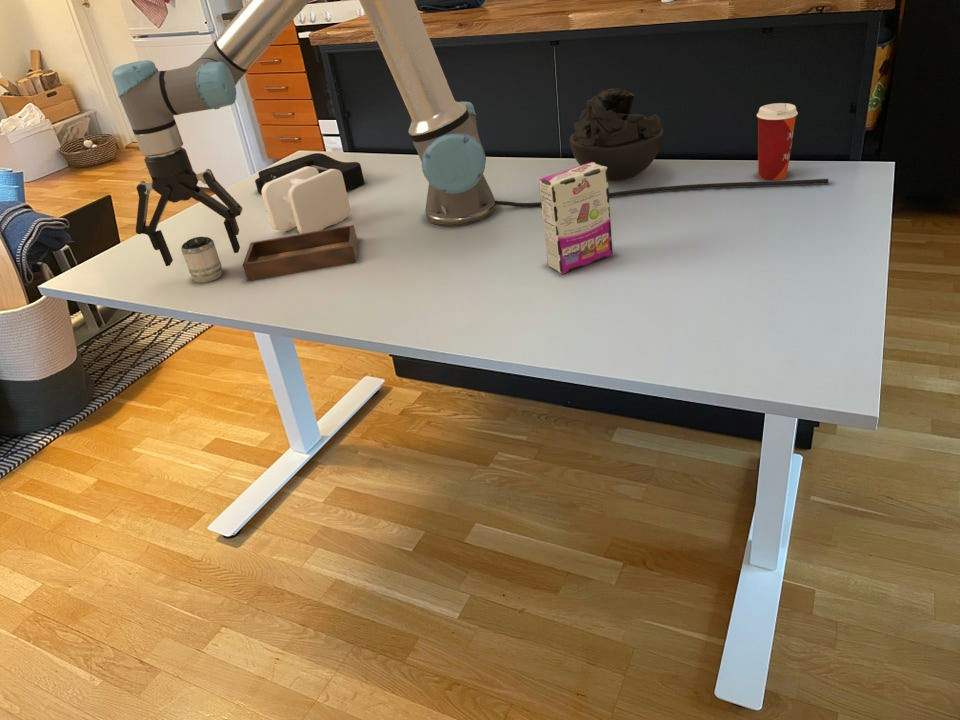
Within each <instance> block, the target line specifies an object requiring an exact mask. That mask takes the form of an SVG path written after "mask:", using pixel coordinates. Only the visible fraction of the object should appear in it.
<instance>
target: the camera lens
mask: <svg viewBox="0 0 960 720" xmlns="http://www.w3.org/2000/svg"><path fill="white" fill-rule="evenodd" d="M180 251H181V253H182V255H183V258H184V261H185V263H186V267H187V269H188V272H189V274H190V277H191V278H192V279H193V281H194V282H195V283H197V284H198V283H199V284H204V283H209V282H213V281H215V280H218V279H219V278H221V276H222V275H223V266H222V261H221V260H220V257H219V256H220V255H219V253H218V250H217V248H216V244H215V242H214V239H212V238H210V237H208V236H196V237H193V238H190V239H188V240H186V241H185V242H184V243H183V244H182V245H181V249H180Z"/></svg>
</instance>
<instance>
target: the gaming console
mask: <svg viewBox="0 0 960 720" xmlns="http://www.w3.org/2000/svg"><path fill="white" fill-rule="evenodd" d="M303 167H314V168H316V169H317V170H318V172H319V174H320V173H322V172H324V171H327V170H329V169H336V170H339V171H341V173H342V175H343V179H344V183H345V188H346V192H348V191H350V190H352V189H355V188H357V187H359V186H362V185H364V184H365V178H364V173H363V169H362V165H361V163H360V162H359V161H358V162H357V161H349V162H347V161H341V160H338V159H335V158H332V157H331V156H328V155H327V154H324V153H320V152H315V153H310V154H307V155H304V156H301V157H297V158H295V159H291V160H289V161H286V162H283V163H280V164H277V165H274V166H270V167H268V168H264V169H262V170H259V171H258V177H257V178H256V179H255V180H254V183H255V186H256V190H257V193H258V194H259V195H260V194H261V195H262V188H263V186H264V185H265V184H266V183H268V182H270V181H272V180H275V179H277V178H280V177H282V176H284V175H287V174H289V173H291V172H294V171H296V170H299V169H301V168H303Z"/></svg>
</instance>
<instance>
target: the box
mask: <svg viewBox="0 0 960 720" xmlns="http://www.w3.org/2000/svg"><path fill="white" fill-rule="evenodd" d="M357 259H358V236H357V232H356V228H355V224H351V225H344V226H338V227H332V228H327V229H323V230H320V231H315V232H309V233H303V234H301V233H298V234H292V235H286V236H281V237H274V238H268V239H264V240H257V241H252V242H250V243H249V246H248V249H247V251H246V254H245V256H244V259H243V262H242V269H243V272H244V274H245V277H246V280H247V282H251V281H257V280H262V279H263V280H264V279H268V278H274V277H281V276H285V275H290V274H291V275H292V274H296V273H303V272H308V271H314V270H320V269H326V268H332V267H336V266H343V265H348V264H354V263H357Z"/></svg>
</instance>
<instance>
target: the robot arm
mask: <svg viewBox="0 0 960 720" xmlns="http://www.w3.org/2000/svg"><path fill="white" fill-rule="evenodd" d="M310 2H311V0H248V1H247V2H246V4H245V5H244V6H243V7H242V8H241V9H240V10H239V12H237V14H236V15H235V16H234V17H233V19H231V21H230V22H229V23H228V24H227V26H226V27H225V28H224V29H223V30H222V32H220V34H219V35H218V36H217V37H216V39H215V40H214V41H213V42H212V43H210V45H209V46H208V48H207V49H206V50H205V51H204V52H203V53H202V54H201V55H200V56H199V58H198V59H197V60H195V61H193V62H192V63H190V64H189V65H188V66H184V67H179V68H174V69H169V70H168V69H167V70H159V69H158V68H157V66H156V64H155V62H153V61H152V60H150V59H149V60H148V59H146V60H137V61H133V62H128V63H124V64H121V65H119V66H116V67H115V68H114V69H113V70H112V73H111V76H112V79H113V83H114V86H115V89H116V92H117V97H118V98H119V100H120V103H121V106H122V107H123V110H124V112H125V115H126V117H127V120H128V122H129V125H130V127H131V129H132V132H133V135H134V138H135V140H136V143H137V145H138V148H139V151H140V153H141V155H142V156H144V159H143V161H144V163H145V165H146V168H147V171H148V173H149V176H150V179H151V182H146V181H144V180H141V181H140V182H139V183H138V184H137V186H136V191H137V195H138V205H137V215H136V224H135V233H136V234H137V235H142V234H143V235H147V236H148V238H149V239H150V243H151V245H152V248H153V249H154V250H155V251H159V253H160V255H161V257H162V261H163V262H164V264H165V267H169V266H171V265H172V263H173V261H174V259H173V257H172V254H171V251H170V249H169V247H168V244H167V242H166V239H165V237H164V234H163V232H162V230H161V229H159V230H157V228H158V226H159V223H160V221H161V218H162V216H163V214H164V212H165V209H166V207H167V204H168V202H171V203H172V204H174V203H178V202H180V201H184V202H185V201H189V200H190V199H193V200H195V201H196V202H199V203H201V204H203V206H205V207H207V208H208V209H210V210H212V211H213V212H215V213H216V214H217V215H219V216H221V217H222V218H223V219H224V221H223V226H224V228H225V231H226V233H227V236H228V237H227V238H228V239H229V243H230V245H231V248H232V251H233V253H234V254H238V253H239V251H240V248H241V245H240V243H239V239H238V237H237V236H239V233H240V226H239V225H238V222H237V217H240V216H241V214H242V213H243V212H242V211H243V207H242V206H241V204H240V203H239V202H237V200H236V199H235V198H234V197H233V196H232V195H231V194H230V193H229V192H228V190H226V189H225V188H224V186H222V185H221V184H220V182H219V181H218V180H217V179H216V178H215V175H214V173H213V171H212V170H211V169H210V168H206V169H205V171H201V172H199V173H196V172H195V171H194V169H193V166H192V164H191V161H190V158H189V155H188V152H187V149H186V148H185V147H183V146H184V141H183V139H182V136H181V133H180V130H179V128H178V125H177V121H176V119H175V116H179V115H183V114H189V113H196V112H203V111H209V110H220V109H221V108H224V107H228V106H232V105H234V104H235V102H236V101H237V87H236V86H237V84H238V83H239V81H240V80H241V79H242V78H243V77H244V75H245V74H246V73H247V71H248V70H249V69H250V68H251V67H252V66H253V65H254V64H255V63H256V61H257V60H259V58H260V57H261V56H262V55H263V54H264V53H265V51H266V50H268V48H269V47H270V46H271V45H272V44H273V42H274V41H276V39H277V38H278V37H279V36H280V35H281V34H282V33H283V31H284V30H285V29H287V27H288V26H289V25H290V24H291V23H292V22H293V20H295V18H296V17H297V16H299V14H300V13H301V11H302V10H303V9H304V8H305V7H306V6H307V5H308V4H309V3H310ZM359 3H360V5H361V8H362V10H363V12H364V15H365V17H366V19H367V21H368V23H369V26H370V28H371V30H372V32H373V34H374V37H375V40H376V41H377V44H378V46H379V49H380V50H381V53H382V55H383V58H384V60H385V62H386V64H387V66H388V69H389V71H390V74H391V76H392V78H393V80H394V82H395V84H396V87H397V89H398V91H399V94H400V96H401V98H402V100H403V103H404V105H405V107H406V109H407V112H408V114H409V116H410V119H411V122H410V125H409V128H408V135H409V136H410V138H411V141H412V144H413V146H414V148H415V150H416V152H417V154H418V156H419V159H420V161H421V168H422V169H421V170H422V171H421V172H422V173H423V176H424V177H425V179H426V180H427V182H428V186H427V187H428V188H427V194H426V200H425V201H426V202H425V208H424V212H425V217H426V220H427V222H429V223H430V224H433V225H435V226H440V227H441V226H442V227H459V226H460V227H461V226H466V225H472V224H474V223H478V222H481V221H483V220H485V219H487V218H489V217H491V216H492V215H493V214H494V213H495V212H496V209H497V206H509V207H516V208H536V207H537V208H538V207H542V206H541V201H539V202H515V201H505V200H496V197H495V195H494V194H493V192H492V190H491V187H490V186H489V183H488V181H487V180H486V177H485V175H484V172H485V169H486V164H487V163H486V162H487V155H486V152H485V149H484V147H483V145H482V142H481V139H480V136H479V135H480V134H479V131H478V126H477V113H476V111H475V106H474V104H473V103H472V102H470V101H456V100H455V98H454V96H453V93H452V90H451V88H450V86H449V83H448V81H447V78H446V76H445V74H444V73H445V72H444V71H443V68H442V65H441V63H440V61H439V58H438V56H437V54H436V51H435V48H434V45H433V43H432V41H431V38H430V36H429V33H428V31H427V28H426V26H425V24H424V21H423V19H422V17H421V14H420V12H419V9H418V7H417V4H416V2H415V0H359ZM199 181H200V182H201V183H202V184H204V185H207V187H208V188H209V189H210V191H211V192H213V194H215V196H217V198H218V199H219V200H220V201H221V202H220V201H218V200H217V199H216V198H215V197H212V196H211V195H210V194H208V193H207V192H205V190H204V189H203V188H201V187H200V186H198V184H199ZM815 184H816V185H817V184H829V178H815V179H813V178H812V179H795V180H793V179H792V180H764V181H741V182H739V181H738V182H716V183H715V182H713V183H697V184H682V185H681V184H680V185H669V186H657V187H646V188H638V189H637V188H636V189H629V190H628V189H627V190H621V191H614V192H609V198H612V197H619V196H620V197H621V196H628V195H629V196H630V195H636V194H637V195H638V194H645V193H655V192H657V193H658V192H667V191H679V190H680V191H681V190H693V189H695V190H697V189H713V188H738V187H740V188H741V187H763V186H764V187H767V186H768V187H769V186H772V187H773V186H795V185H796V186H797V185H815ZM152 190H153V191H155V192H156V193H157V194H159V195H160V198H159V200H158V202H157V205H156V208H155V209H154V210H155V211H154V213H153V215H152V217H151V220H150V222H149V224H148V225H147V217H148V209H149V199H150V194H152Z"/></svg>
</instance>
